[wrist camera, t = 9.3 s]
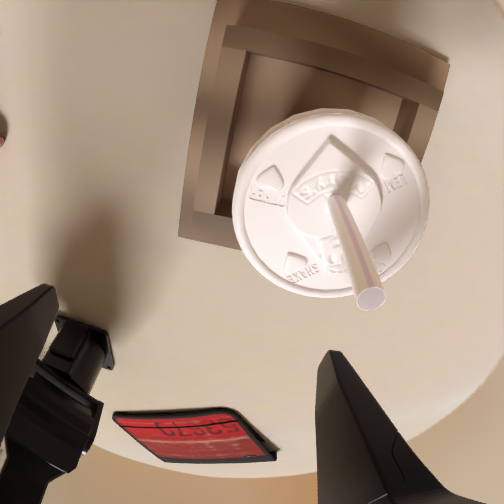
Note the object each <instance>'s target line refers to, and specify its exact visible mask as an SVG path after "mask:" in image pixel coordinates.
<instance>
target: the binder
mask: <svg viewBox="0 0 504 504" xmlns="http://www.w3.org/2000/svg"><path fill="white" fill-rule="evenodd" d="M112 419H113V421H114V422H115V423H117V424H118V425H119V427H121V428H122V429H123V430H125V431H126V432H127V433H128V434H129V435H130V436H131V437H133V438H134V439H135V440H136V441H137V442H138V443H140V444H141V445H142V446H143V447H145V448H146V449H147V450H148V451H150V452H151V453H152V454H154V455H155V456H156V457H157V458H159V459H161V460H162V461H164V462H170V463H194V464H215V463H251V462H267V461H276V460H277V452H276V451H272V452H269V451H268V450H267V449H266V448H265V447H264V446H263V444H262V443H261V442H265V441H264V440H263V439H262V438H261V437H260V435H259V434H258V433H257V432H256V431H255V430H254V429H253V428H252V427H251V426H250V425H249V424H248V423H247V422H246V421H244V420H243V419H242V418H241V416H239V415H238V414H237V413H236V412H235V411H233V410H230V409H227V408H213V409H207V410H200V411H192V412H180V413H168V414H153V415H135V414H127V413H124V412H115V413H113V416H112ZM259 440H260V441H261V442H260V441H259Z"/></svg>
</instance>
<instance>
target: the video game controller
mask: <svg viewBox="0 0 504 504" xmlns="http://www.w3.org/2000/svg"><path fill="white" fill-rule="evenodd" d="M3 144H4V138H3V137H0V147H1V146H2V145H3Z"/></svg>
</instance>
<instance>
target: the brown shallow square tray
mask: <svg viewBox="0 0 504 504" xmlns="http://www.w3.org/2000/svg"><path fill="white" fill-rule="evenodd" d="M449 68H450V64H448V63H447V62H445V61H443V60H441V59H439V58H437V57H435V56H433V55H431V54H429V53H427V52H425V51H423V50H421V49H419V48H417V47H415V46H413V45H410V44H408V43H406V42H404V41H401V40H399V39H397V38H394V37H392V36H389V35H387V34H385V33H382V32H379V31H377V30H374V29H372V28H369V27H366V26H363V25H360V24H358V23H355V22H352V21H349V20H346V19H342V18H339V17H336V16H333V15H329V14H326V13H322V12H318V11H315V10H311V9H307V8H303V7H299V6H294V5H290V4H285V3H280V2H275V1H270V0H217V4H216V8H215V12H214V16H213V20H212V25H211V29H210V34H209V38H208V43H207V48H206V52H205V57H204V62H203V67H202V72H201V77H200V83H199V88H198V94H197V99H196V105H195V111H194V117H193V123H192V129H191V136H190V142H189V149H188V156H187V163H186V171H185V179H184V187H183V195H182V204H181V213H180V222H179V232H178V237H183V238H187V239H192V240H196V241H201V242H205V243H210V244H215V245H219V246H224V247H228V248H233V249H237V250H242V249H241V247H240V245H239V242H238V240H237V237H236V234H235V230H234V225H233V218H232V202H233V194H234V189H235V184H236V180H237V175H238V171H239V169H240V167H241V165H242V163H243V161H244V159H245V158H246V156H247V154H248V152H249V150H250V148H251V147H252V146H253V145H254V144H255V143H256V142H257V141H258V140H259V139H260V138H261V137H262V136H263V135H264V134H265V133H266V132H267V131H268V130H269V129H270V128H272V127H273V126H275V125H277V124H279V123H280V122H282V121H284V120H286V119H287V118H289V117H291V116H293V115H295V114H299V113H303V112H307V111H311V110H316V109H320V108H331V109H349V110H353V111H356V112H359V113H362V114H364V115H367V116H370V117H373V118H375V119H377V120H378V121H380V122H381V123H382V124H384V125H385V126H387V127H388V128H389V129H391V130H392V131H394V132H395V133H396V134H397V135H398V136H400V137H401V138H402V139H403V140H404V141H405V142H406V143H407V144H408V145H409V147H410V148H411V149H412V150H413V152H414V153H415V155H416V156H417V158H418V160H419V162H420V163H421V161H422V159H423V156H424V153H425V150H426V147H427V144H428V142H429V139H430V136H431V133H432V129H433V126H434V123H435V120H436V117H437V114H438V110H439V107H440V104H441V100H442V97H443V93H444V92H443V91H444V87H445V83H446V79H447V76H448V72H449Z"/></svg>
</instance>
